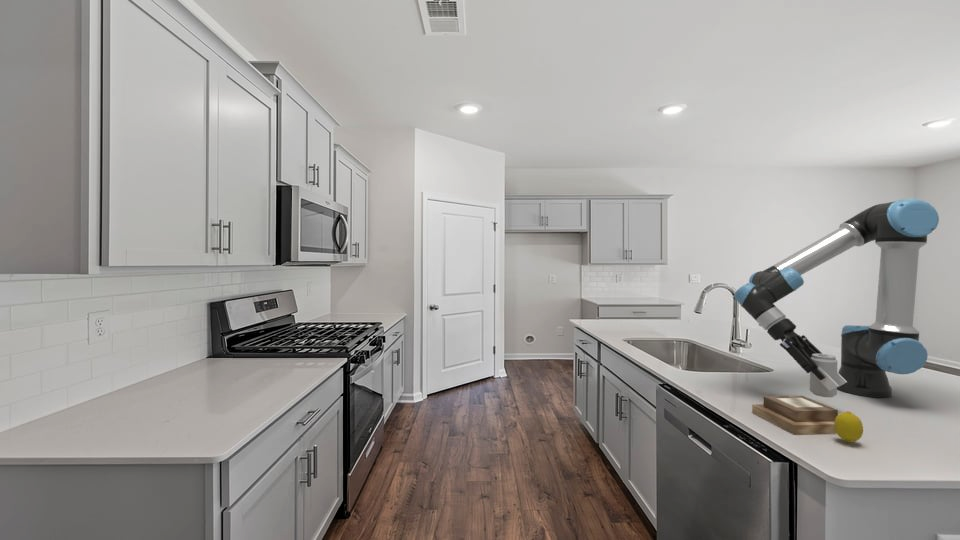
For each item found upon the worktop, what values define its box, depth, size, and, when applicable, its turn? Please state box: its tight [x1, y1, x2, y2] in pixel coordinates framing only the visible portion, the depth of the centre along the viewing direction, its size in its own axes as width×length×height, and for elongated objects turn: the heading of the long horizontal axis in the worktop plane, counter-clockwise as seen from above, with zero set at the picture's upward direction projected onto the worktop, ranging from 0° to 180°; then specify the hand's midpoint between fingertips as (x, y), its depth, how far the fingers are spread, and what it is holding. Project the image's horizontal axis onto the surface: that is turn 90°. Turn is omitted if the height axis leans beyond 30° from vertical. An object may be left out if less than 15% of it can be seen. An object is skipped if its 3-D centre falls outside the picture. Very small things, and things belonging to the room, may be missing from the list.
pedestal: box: [751, 395, 839, 435], centre depth 122 cm, size 16×16×6 cm
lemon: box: [834, 411, 864, 444], centre depth 108 cm, size 6×6×8 cm
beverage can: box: [809, 353, 838, 398], centre depth 129 cm, size 6×6×12 cm
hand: (838, 386), depth 126 cm, fingers closed on beverage can, 6 cm apart
